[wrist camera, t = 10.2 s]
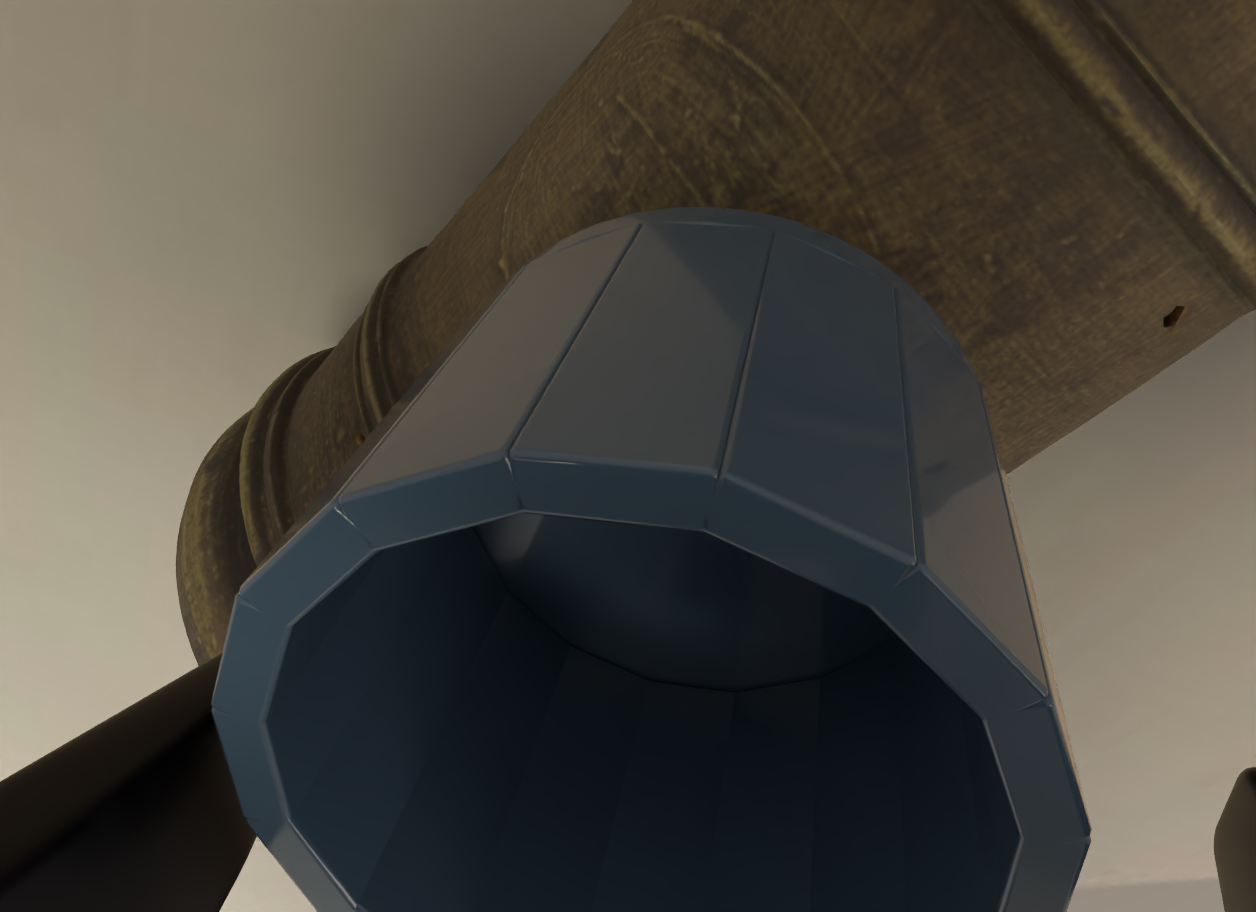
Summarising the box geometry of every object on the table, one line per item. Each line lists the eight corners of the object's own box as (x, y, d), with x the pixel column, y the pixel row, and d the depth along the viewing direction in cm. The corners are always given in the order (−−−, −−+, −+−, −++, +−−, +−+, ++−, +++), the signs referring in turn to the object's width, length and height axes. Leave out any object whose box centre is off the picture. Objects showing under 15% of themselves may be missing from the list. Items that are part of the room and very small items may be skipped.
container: (521, 971, 17) (2132, 142, 8) (28, 618, 15) (1401, -1220, 5) (631, 608, 26) (1460, -8, 16) (324, 347, 24) (1068, -556, 14)
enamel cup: (945, 710, 13) (990, 1138, 8) (469, 647, 14) (296, 1000, 9) (1050, 221, 9) (1208, 520, 5) (415, 188, 10) (113, 414, 6)
